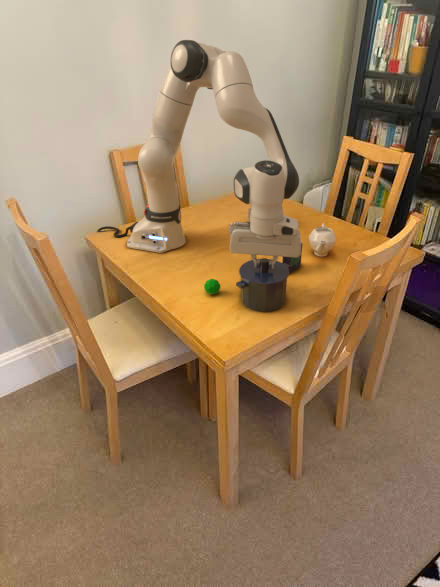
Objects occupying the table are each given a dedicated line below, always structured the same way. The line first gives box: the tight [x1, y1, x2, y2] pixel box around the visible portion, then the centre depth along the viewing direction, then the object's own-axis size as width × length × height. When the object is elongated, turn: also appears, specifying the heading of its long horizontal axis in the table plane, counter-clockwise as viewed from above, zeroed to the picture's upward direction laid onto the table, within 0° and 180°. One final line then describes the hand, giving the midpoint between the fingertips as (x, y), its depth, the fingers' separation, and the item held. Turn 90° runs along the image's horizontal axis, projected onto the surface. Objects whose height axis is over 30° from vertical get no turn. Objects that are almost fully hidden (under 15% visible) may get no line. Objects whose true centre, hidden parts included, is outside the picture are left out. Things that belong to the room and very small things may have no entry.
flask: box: [281, 241, 303, 275], centre depth 140 cm, size 9×3×11 cm, turn 134°
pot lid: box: [238, 257, 290, 285], centre depth 122 cm, size 15×15×5 cm
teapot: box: [308, 222, 337, 257], centre depth 149 cm, size 10×20×9 cm, turn 168°
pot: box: [235, 263, 291, 313], centre depth 126 cm, size 14×19×10 cm
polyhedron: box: [203, 278, 221, 295], centre depth 130 cm, size 5×5×5 cm
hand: (264, 267), depth 122 cm, fingers closed on pot lid, 2 cm apart
